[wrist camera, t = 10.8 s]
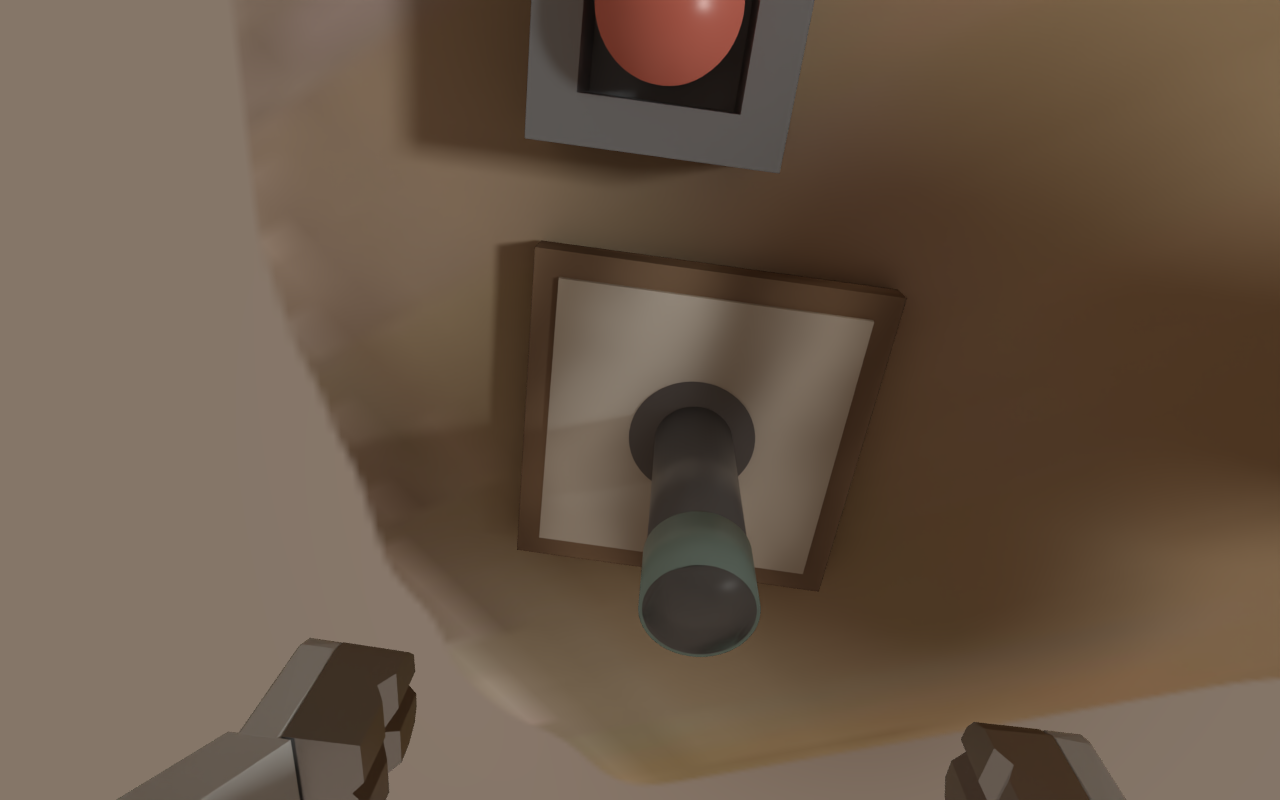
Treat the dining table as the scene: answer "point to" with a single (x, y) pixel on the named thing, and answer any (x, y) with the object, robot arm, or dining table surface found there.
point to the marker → (697, 541)
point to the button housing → (667, 89)
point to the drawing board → (695, 398)
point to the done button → (669, 36)
